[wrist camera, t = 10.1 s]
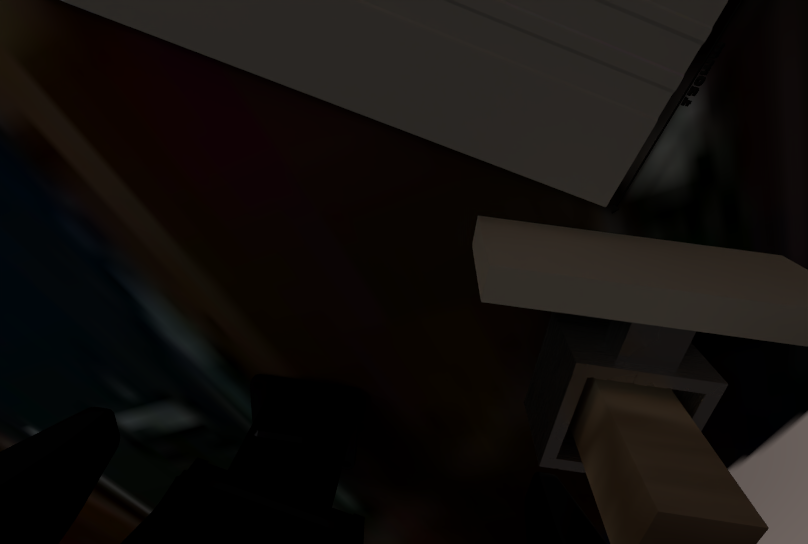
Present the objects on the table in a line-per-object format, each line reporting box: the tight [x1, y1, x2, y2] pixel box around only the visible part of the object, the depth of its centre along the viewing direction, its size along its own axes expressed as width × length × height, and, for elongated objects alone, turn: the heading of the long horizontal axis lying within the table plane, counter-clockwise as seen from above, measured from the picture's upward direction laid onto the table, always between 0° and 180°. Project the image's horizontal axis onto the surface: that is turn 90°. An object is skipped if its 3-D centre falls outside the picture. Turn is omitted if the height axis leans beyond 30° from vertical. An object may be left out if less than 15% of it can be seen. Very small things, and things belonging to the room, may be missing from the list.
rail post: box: [569, 377, 768, 544], centre depth 17 cm, size 3×3×8 cm
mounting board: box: [472, 216, 808, 346], centre depth 18 cm, size 2×14×6 cm, turn 84°
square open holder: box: [524, 312, 728, 473], centre depth 19 cm, size 8×6×4 cm
